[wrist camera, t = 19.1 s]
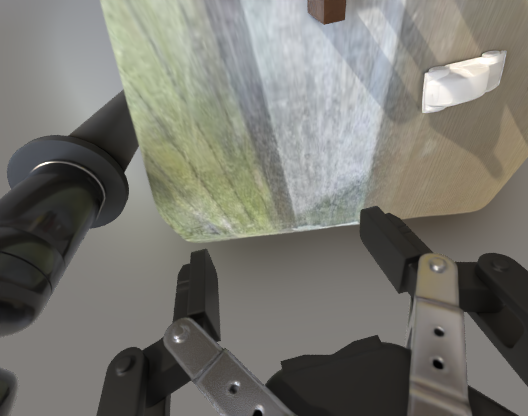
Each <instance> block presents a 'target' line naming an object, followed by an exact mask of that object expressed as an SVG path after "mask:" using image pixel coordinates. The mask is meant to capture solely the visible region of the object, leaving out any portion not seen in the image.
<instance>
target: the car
mask: <svg viewBox="0 0 528 416" xmlns="http://www.w3.org/2000/svg"><path fill="white" fill-rule="evenodd" d="M506 52H507V51H504V50H502V51H488V52H485V53H483V54H482V57H479V58H475V59H470V60H466V61H462V62H457V63H453V64H449V65H446V66H437V67H433V68H430V69H429V72H428V73H425V80H424V87H423V99H422V113H432V112H437V111H441V110H443V109H445V108H446V107H449V106H453V105H457V104H461V103H464V102H468V101H471V100H474V99H476V98H479V97H481V96H482V95H484V93H485V92H489V91H491V90H493V89H495V88H496V87H497V86H499V83H500V80H501V76H502V72H503V68H504V64H505V58H506Z"/></svg>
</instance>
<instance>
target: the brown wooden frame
mask: <svg viewBox="0 0 528 416" xmlns="http://www.w3.org/2000/svg"><path fill="white" fill-rule="evenodd" d="M307 1H308V13H309V14H310V15H312V16H313V17H314V18H316V19H317V20H318V21H320V22H321V23H322V24H324V25H325V24H329V23H333V22H338V21H342V20H345V10H346V0H307Z"/></svg>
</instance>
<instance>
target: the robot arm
mask: <svg viewBox="0 0 528 416" xmlns="http://www.w3.org/2000/svg"><path fill="white" fill-rule="evenodd" d="M106 197H107V193H106V188H105V186H104V184H103V182H102V180H101V179H100V178H99V177H98V175H97V174H95V173H94V172H93V171H92V170H91V169H89V168H87V167H86V166H84V165H82V164H80V163H77V162H74V161H70V160H65V159H52V160H48V161H45V162H42V163H40V164H39V165H37V166H36V167H35V168H34V169H33V170H32V171H31V172H30V174H29V175H27V176H26V177H25V178H24V179H23V180H21V181H20V182H19V183H18V184H17V185H16V186H15V187H13V188H12V189H11V190H10V191H9V192H8V193H7V194H5V195H4V196H3V197H2V198H1V199H0V337H5V336H9V335H12V334H15V333H18V332H20V331H22V330H24V329H26V328H27V327H29V326H30V325H32V324H33V323H34V322H35V320H37V319H38V317H39V316H40V314H41V313H42V311H43V310H44V308H45V306H46V304H47V303H48V300H49V299H50V297H51V295H52V293H53V292H54V290H55V288H56V286H57V285H58V283H59V281H60V279H61V278H62V276H63V274H64V272H65V270H66V269H67V267H68V265H69V263H70V262H71V260H72V258H73V256H74V255H75V253H76V251H77V249H78V248H79V246H80V244H81V242H82V240H83V239H84V237H85V235H86V234H87V232H88V230H89V228H90V227H91V225H92V223H93V221H94V220H95V218H96V216H97V215H98V216H99V214H98V213H100V210H101V209H102V207H103V206H104V204H105V201H106ZM98 216H97V218H98ZM96 220H97V219H96ZM360 237H361V240H362V242H363V244H364V245H365V247H366V248H367V249H368V251H369V252H370V254H371V255H372V256H373V258H374V259H375V261H376V262H377V264H378V265H379V266H380V268H381V269H382V270H383V272H384V273H385V275H386V276H387V278H388V279H389V281H390V282H391V283H392V285H393V286H394V287H395V289H396V290H397V292H398V293H399V294H400V293H403V292H408V293H409V294H410V296H411V297H410V305H409V313H408V322H407V331H406V338H405V344H404V347H402V346H400V345H396V344H392V343H386V342H381V341H380V339H379V337H378V335H375V336H372V337H368V338H364V339H361V340H357V341H354V342H352V343H351V344H349V345H347V346H346V347H344V348H342V349H341V350H339V351H338V352H336V353H334V354H332V355H302V356H299V357H295V358H292V359H288V360H284V361H281V365H282V369H281V370H279V371H278V372H277V373H276V374H274V375H273V376H272V377H271V378H270V379H269V380H268V381H267V383H266V384H265V385H264V384H263V383H262V382H261V381H260V380H259V379H258V378H257V377H256V376H255V375H253V374H252V373H251V372H250V371H249V370H248V369H247V368H246V367H245V366H244V365H243V364H242V363H241V362H240V361H239V360H238V359H237V358H236V357H235V356H234V355H233V354H232V353H231V352H229V350H227V349H226V348H224V349H223V348H222V347H221V346H220V345H219V344H218V343H217V342H218V341H221V340H220V316H219V294H218V278H217V273H216V269H215V267H214V265H213V263H212V260H211V257H210V255H209V253H208V251H207V249H203V250H199V251H195V252H192V253H191V260H190V264H186V265H183V266H182V268H181V270H180V272H179V274H178V280H177V289H176V292H177V293H176V298H175V307H174V317H173V323H172V324H171V325H170V326H169V327H168V329H167V330H166V332H165V334H164V337H163V338H161V339H160V340H159V341H157V342H156V343H154V344H152V345H150V346H149V347H147V348H145V349H144V350H141V349H139V348H137V347H130V348H127V349H125V350H123V351H121V352H120V353H119V354H117V355H116V356H115V358H114V359H113V360H112V361H111V363H110V364H109V366H108V369H107V372H106V377H105V381H104V385H103V390H102V394H101V399H100V403H99V407H98V412H97V416H170V398H171V393H173V392H174V391H176V390H177V389H179V388H180V387H182V386H183V385H185V384H186V383H188V382H189V381H191V380H192V382H193V383H194V384H195V385H196V386H197V388H198V389H199V390H200V391H201V393H202V394H203V395H204V396H205V397H206V399H207V400H208V401H209V403H210V404H211V405H212V406H213V407H214V409H215V410H216V411H217V413H218V414H219V415H220V416H518V415H517V414H515V413H513V412H511V411H510V410H508V409H507V408H505V407H504V406H502V405H500V404H499V403H497V402H495V401H494V400H492V399H490V398H488V397H487V396H485V395H484V394H482V393H481V392H479V391H477V390H476V389H474V388H472V387H470V386H469V385H468V384H467V364H466V344H465V325H464V312H467V313H468V314H469V315H470V316H471V318H472V319H473V320H474V321H475V322H476V323H477V325H478V326H479V327H480V329H481V330H482V331H483V332H484V334H485V335H486V336H487V337H488V338H489V340H490V341H491V342H492V343H493V345H494V346H495V347H496V348H497V349H498V351H499V352H500V353H501V354H502V356H503V357H504V358H505V359H506V361H507V362H508V363H509V364H510V365H511V367H512V368H513V369H514V370H515V372H516V373H517V374H518V375H519V376H520V378H521V379H522V380H523V381H524V383H525V384H526V385H527V386H528V271H527V270H526V269H525V268H523V267H522V266H521V265H520V264H518V263H517V262H516V261H515V260H513V259H511V258H510V257H507V256H505V255H502V254H497V253H486V254H483V255H482V256H480V257H479V259H478V262H454V261H453V260H452V259H450V258H449V257H447V256H445V255H442V254H438V253H433V252H432V251H431V250H430V249H429V248H428V247H427V246H426V245H425V244H424V243H423V242H422V241H421V240H420V239H419V238H418V237H417V236H416V235H415V234H414V233H413V232H412V231H411V229H409V227H408V226H406V224H405V223H404V222H403V221H402V220H401V219H400V218H398V217H396V216H394V215H392V214H391V213H387V214H384V212H383V211H382V210H381V209H380V208H379V207H378V206H373V207H370V208H366V209H362V210H361V212H360ZM18 389H19V380H18V377H17V376H16V374H14V373H13V372H11V371H9V370H7V369H4V368H1V367H0V416H10V415H11V413H12V410H13V407H14V404H15V401H16V398H17V394H18Z"/></svg>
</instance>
